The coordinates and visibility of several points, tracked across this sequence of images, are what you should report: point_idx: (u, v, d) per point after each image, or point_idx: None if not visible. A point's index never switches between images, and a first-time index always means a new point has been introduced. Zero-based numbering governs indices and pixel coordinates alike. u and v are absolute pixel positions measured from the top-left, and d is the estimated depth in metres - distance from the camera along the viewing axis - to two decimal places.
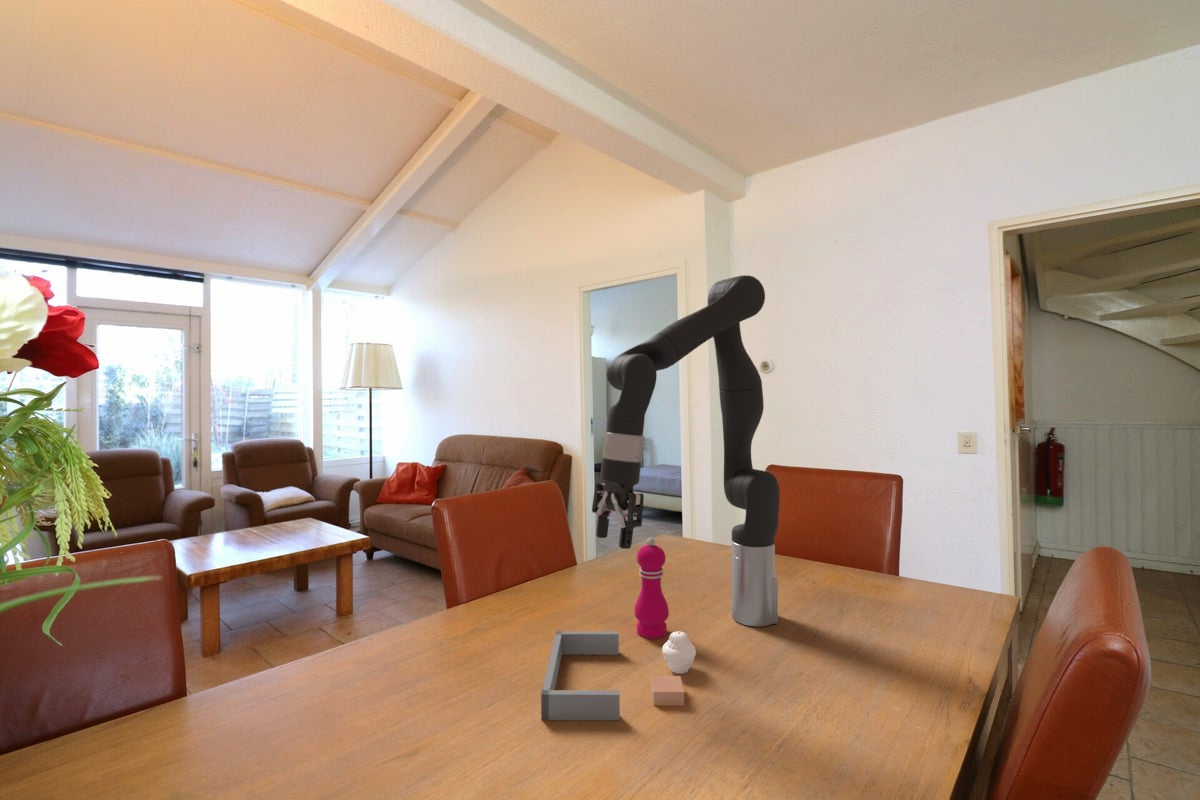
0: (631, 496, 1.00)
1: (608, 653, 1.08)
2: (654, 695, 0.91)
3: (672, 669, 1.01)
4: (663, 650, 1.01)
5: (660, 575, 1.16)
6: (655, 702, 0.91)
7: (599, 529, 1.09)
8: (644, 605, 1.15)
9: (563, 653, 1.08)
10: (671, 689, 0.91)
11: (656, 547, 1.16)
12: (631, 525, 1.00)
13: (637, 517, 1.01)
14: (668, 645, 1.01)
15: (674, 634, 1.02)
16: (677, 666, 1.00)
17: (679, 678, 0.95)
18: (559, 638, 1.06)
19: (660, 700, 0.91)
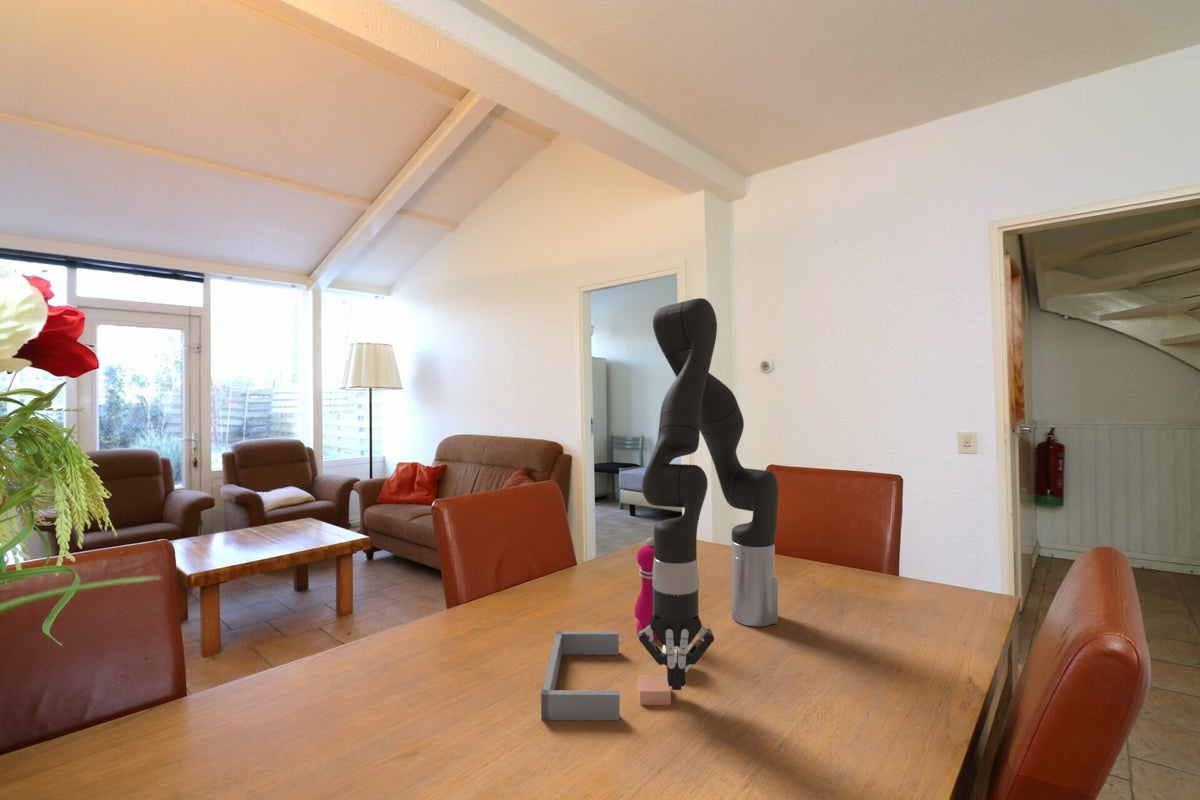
0: (712, 639, 0.91)
1: (608, 653, 1.08)
2: (641, 694, 0.91)
3: None
4: (663, 650, 1.01)
5: None
6: (642, 701, 0.91)
7: None
8: (644, 605, 1.15)
9: (563, 653, 1.08)
10: (657, 689, 0.91)
11: None
12: None
13: (693, 649, 0.93)
14: None
15: None
16: None
17: (666, 677, 0.95)
18: (559, 638, 1.06)
19: (647, 700, 0.91)
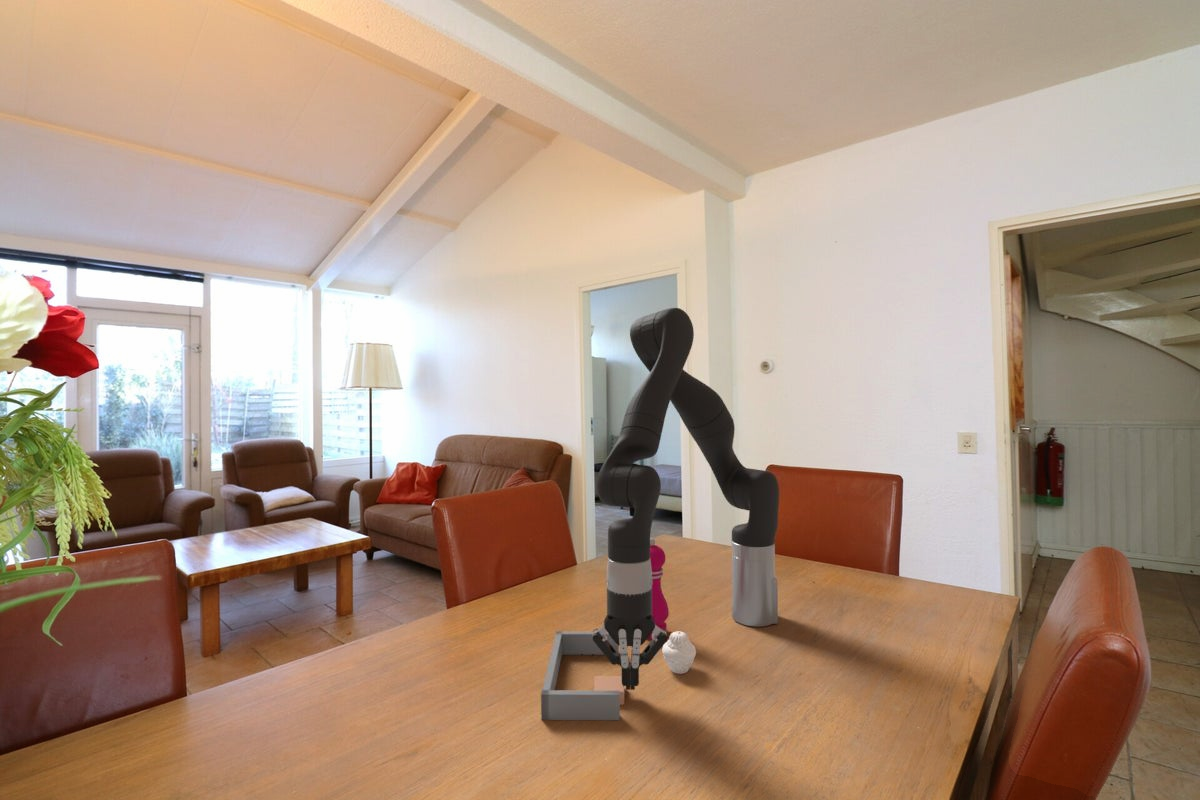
0: (665, 639, 0.91)
1: None
2: None
3: (672, 669, 1.01)
4: (663, 650, 1.01)
5: (660, 575, 1.16)
6: None
7: (630, 680, 0.92)
8: None
9: (563, 653, 1.08)
10: (611, 689, 0.92)
11: (656, 547, 1.16)
12: None
13: (647, 649, 0.94)
14: (668, 645, 1.01)
15: (674, 634, 1.02)
16: (677, 666, 1.00)
17: None
18: (559, 638, 1.06)
19: None
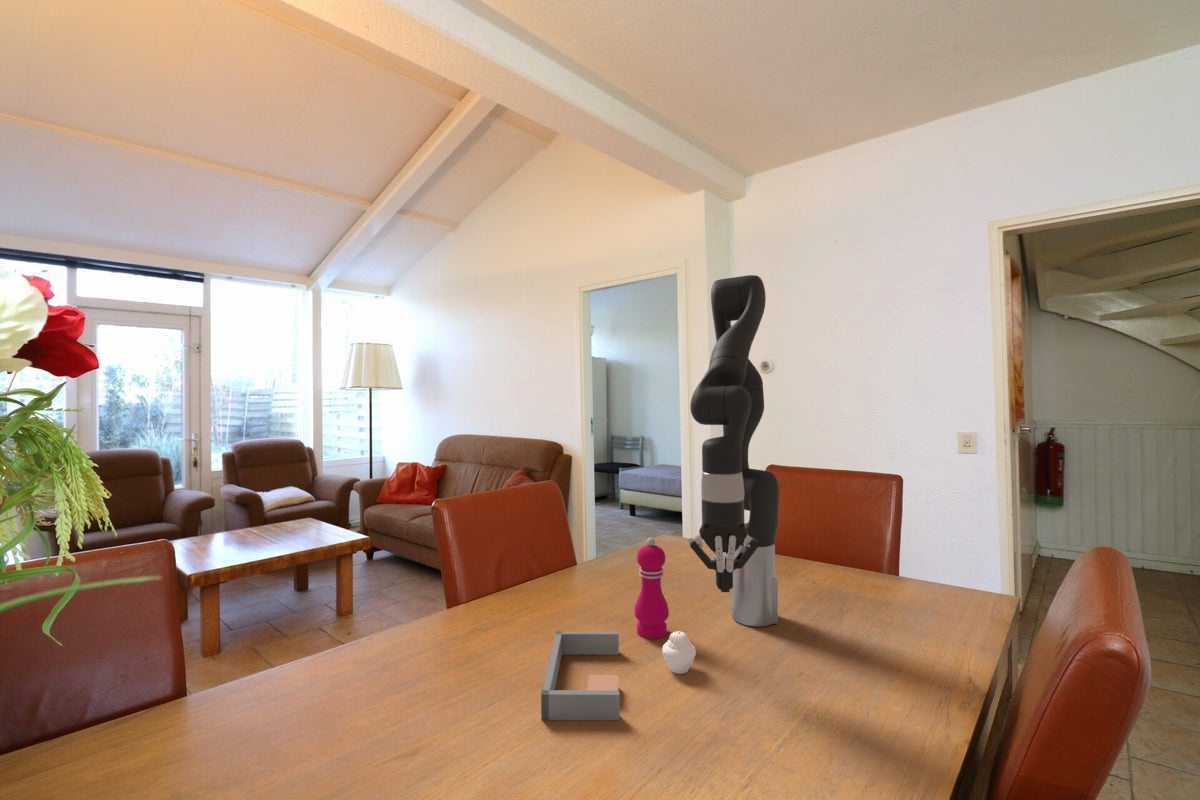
0: (757, 545, 1.00)
1: (608, 653, 1.08)
2: None
3: (672, 669, 1.01)
4: (663, 650, 1.01)
5: (660, 575, 1.16)
6: None
7: None
8: (644, 605, 1.15)
9: (563, 653, 1.08)
10: (605, 688, 0.92)
11: (656, 547, 1.16)
12: None
13: (739, 556, 1.02)
14: (668, 645, 1.01)
15: (674, 634, 1.02)
16: (677, 666, 1.00)
17: (616, 677, 0.95)
18: (559, 638, 1.06)
19: None
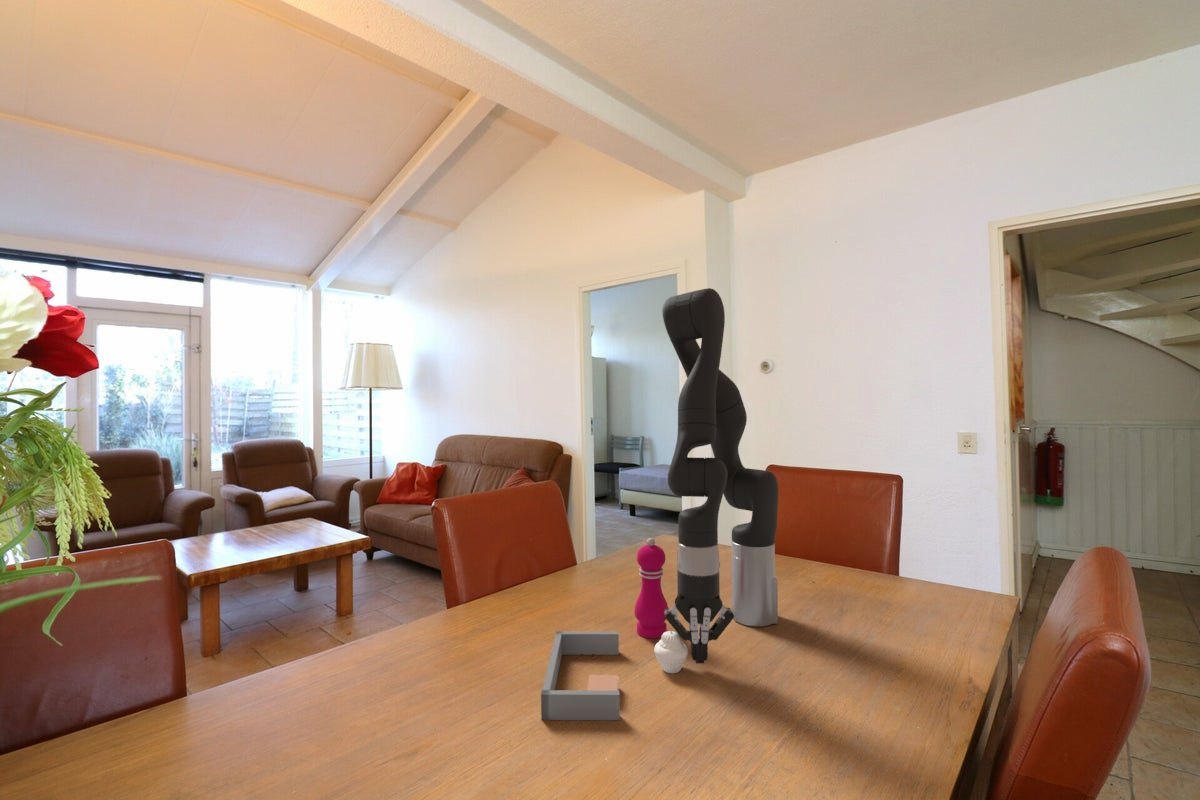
0: (732, 617, 1.00)
1: (608, 653, 1.08)
2: None
3: (664, 669, 1.01)
4: (655, 650, 1.01)
5: (660, 575, 1.16)
6: None
7: None
8: (644, 605, 1.15)
9: (563, 653, 1.08)
10: (605, 689, 0.92)
11: (656, 547, 1.16)
12: None
13: (714, 627, 1.02)
14: (660, 645, 1.01)
15: (666, 634, 1.02)
16: (669, 666, 1.00)
17: (617, 678, 0.95)
18: (559, 638, 1.06)
19: None
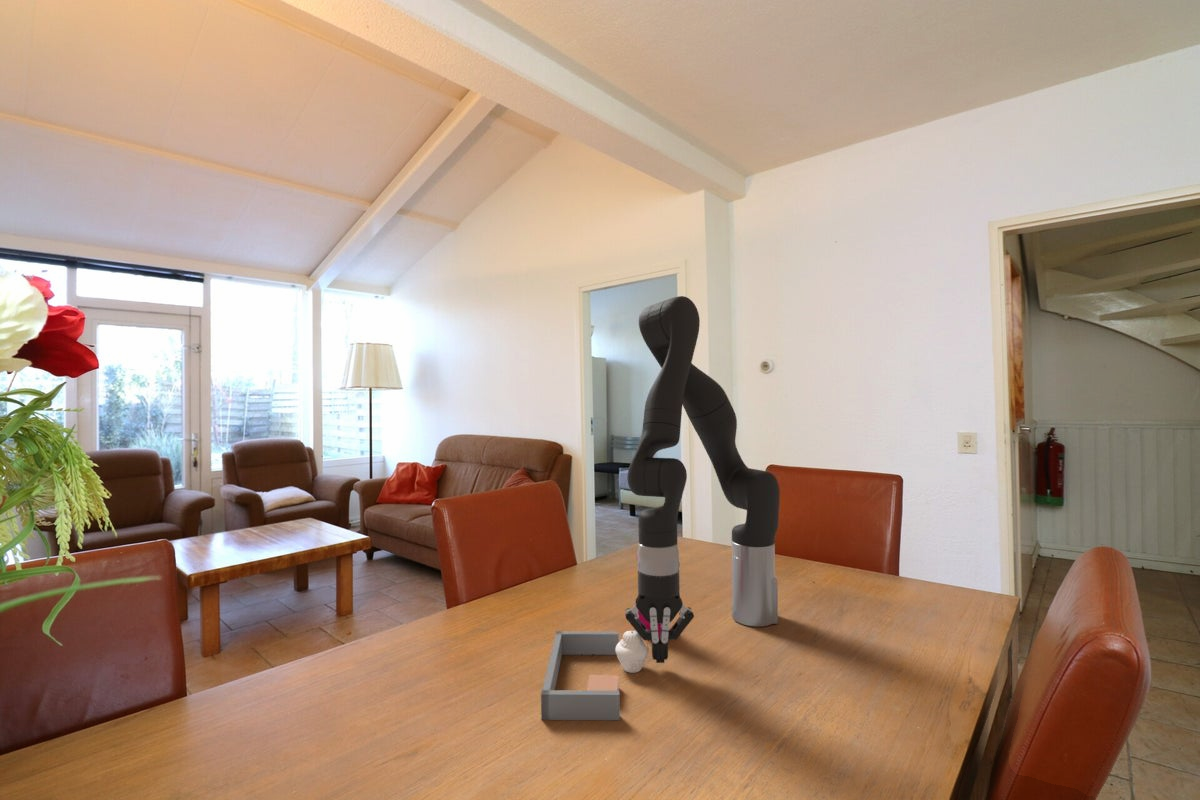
0: (692, 616, 1.00)
1: (608, 653, 1.08)
2: None
3: (625, 668, 1.01)
4: (616, 649, 1.02)
5: None
6: None
7: None
8: None
9: (563, 653, 1.08)
10: (604, 688, 0.92)
11: None
12: None
13: (675, 626, 1.02)
14: (621, 644, 1.02)
15: (627, 633, 1.02)
16: (629, 665, 1.00)
17: (617, 678, 0.95)
18: (559, 638, 1.06)
19: None
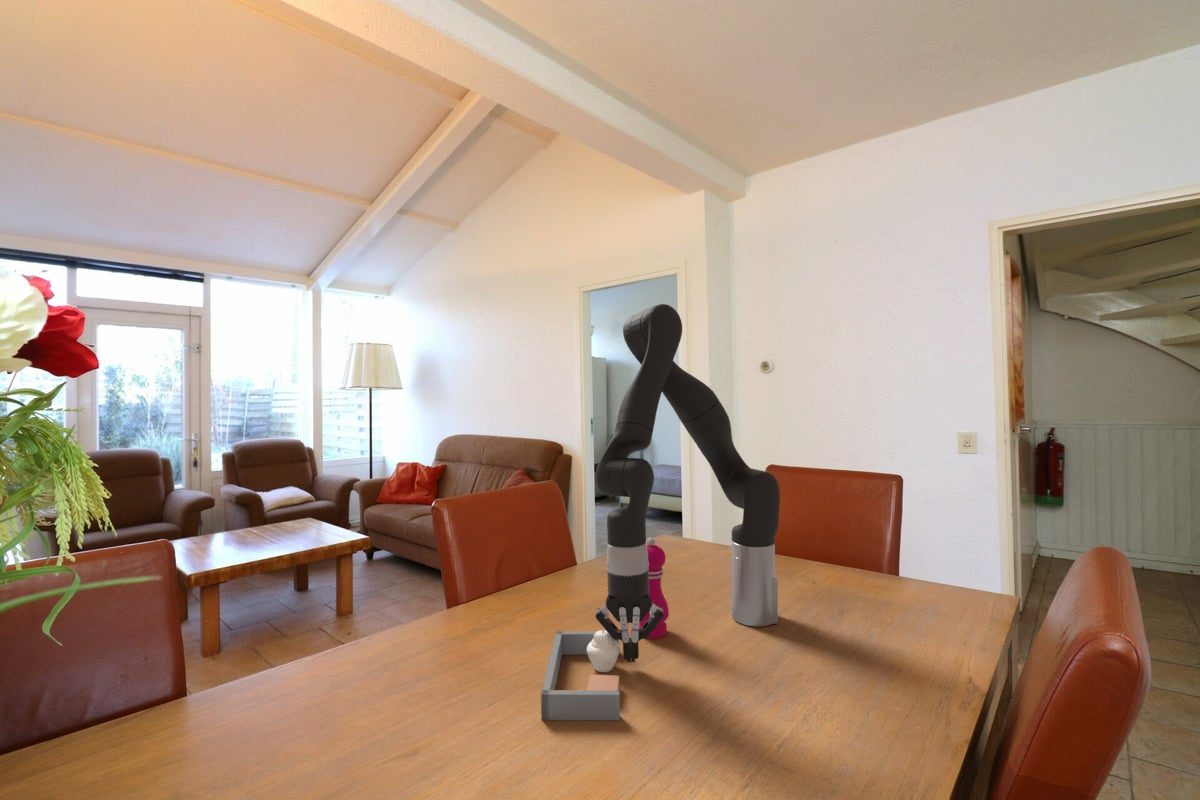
0: (661, 615, 1.01)
1: None
2: None
3: (596, 668, 1.01)
4: (587, 649, 1.02)
5: (660, 575, 1.16)
6: None
7: None
8: None
9: (563, 653, 1.08)
10: (604, 689, 0.92)
11: (656, 547, 1.16)
12: None
13: (646, 625, 1.03)
14: (592, 644, 1.02)
15: (598, 633, 1.02)
16: (599, 665, 1.00)
17: (617, 678, 0.95)
18: (559, 638, 1.06)
19: None
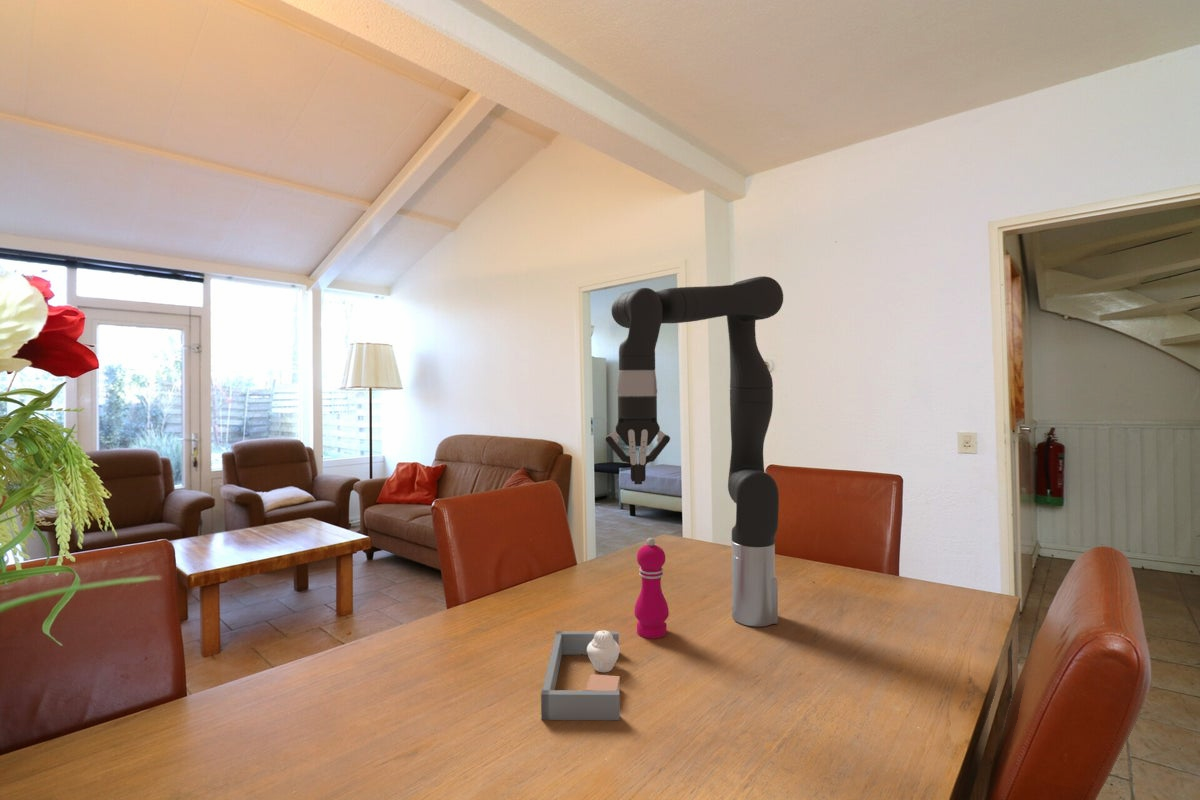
0: (668, 439, 1.06)
1: None
2: None
3: (595, 668, 1.01)
4: (587, 649, 1.02)
5: (660, 575, 1.16)
6: None
7: None
8: (644, 605, 1.15)
9: (563, 653, 1.08)
10: (604, 689, 0.92)
11: (656, 547, 1.16)
12: (654, 459, 1.07)
13: (653, 452, 1.08)
14: (592, 644, 1.02)
15: (598, 633, 1.02)
16: (599, 665, 1.00)
17: (617, 678, 0.95)
18: (559, 638, 1.06)
19: None
